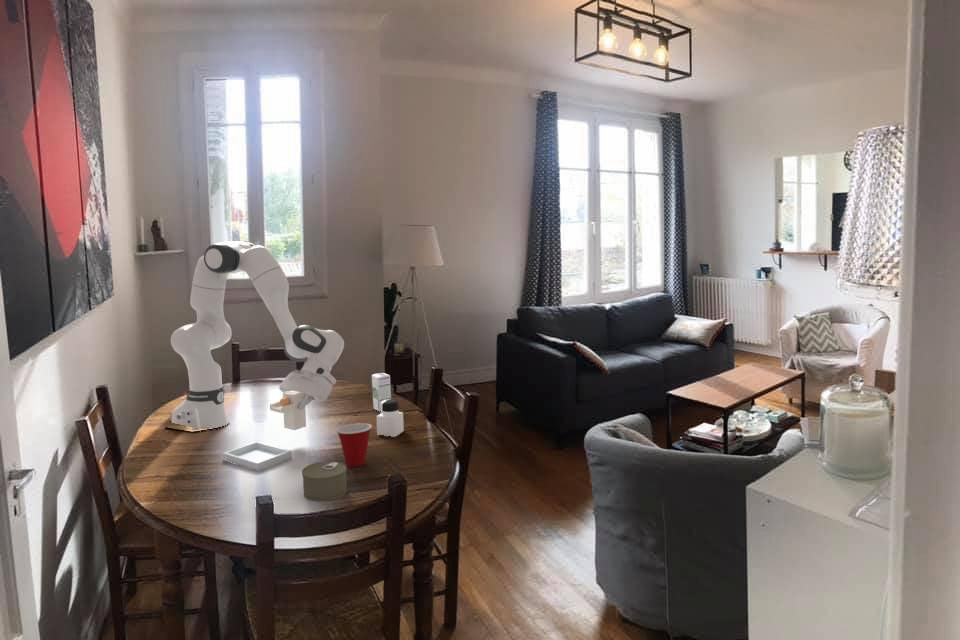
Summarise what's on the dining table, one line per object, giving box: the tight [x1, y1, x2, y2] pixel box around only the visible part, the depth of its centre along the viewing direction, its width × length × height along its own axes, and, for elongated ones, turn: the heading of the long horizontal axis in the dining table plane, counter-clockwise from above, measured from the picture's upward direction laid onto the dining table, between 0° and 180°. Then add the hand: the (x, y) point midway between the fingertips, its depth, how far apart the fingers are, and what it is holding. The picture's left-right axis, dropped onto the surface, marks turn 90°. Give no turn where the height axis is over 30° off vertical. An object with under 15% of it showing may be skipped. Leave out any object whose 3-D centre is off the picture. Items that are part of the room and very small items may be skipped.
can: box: [301, 461, 348, 503], centre depth 178 cm, size 12×12×7 cm
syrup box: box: [371, 372, 392, 413], centre depth 257 cm, size 6×6×14 cm
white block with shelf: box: [269, 390, 307, 431], centre depth 213 cm, size 10×6×12 cm, turn 147°
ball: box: [279, 397, 290, 407], centre depth 211 cm, size 3×3×3 cm
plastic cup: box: [335, 422, 372, 468], centre depth 199 cm, size 11×11×12 cm
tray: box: [222, 441, 293, 472], centre depth 204 cm, size 17×13×2 cm
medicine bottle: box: [376, 398, 405, 438], centre depth 228 cm, size 7×7×12 cm
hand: (292, 407), depth 215 cm, fingers closed on white block with shelf, 5 cm apart
